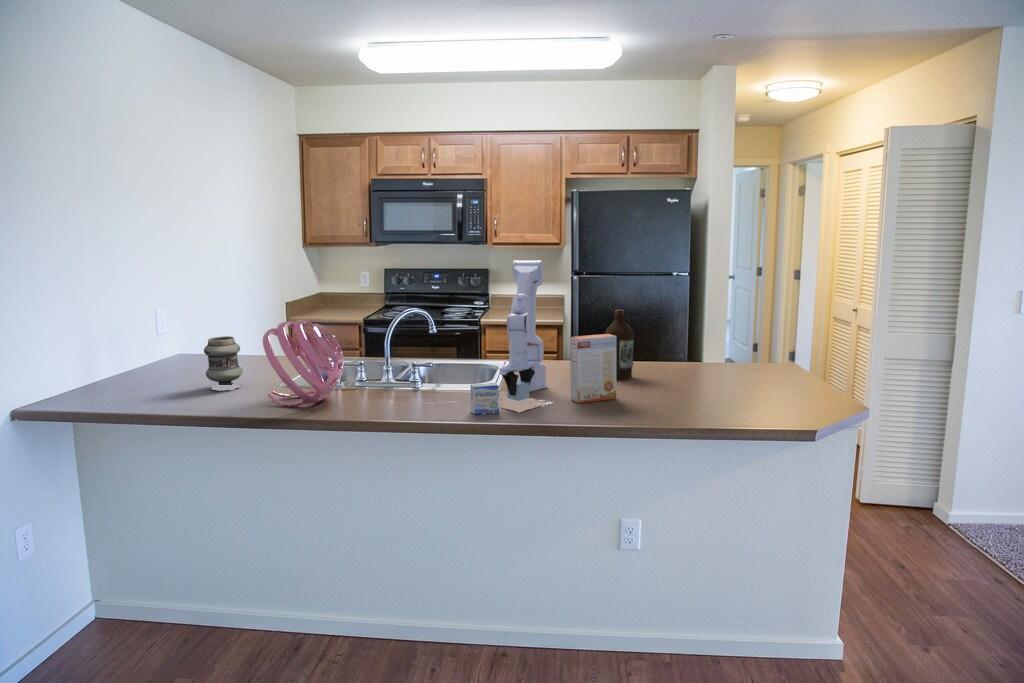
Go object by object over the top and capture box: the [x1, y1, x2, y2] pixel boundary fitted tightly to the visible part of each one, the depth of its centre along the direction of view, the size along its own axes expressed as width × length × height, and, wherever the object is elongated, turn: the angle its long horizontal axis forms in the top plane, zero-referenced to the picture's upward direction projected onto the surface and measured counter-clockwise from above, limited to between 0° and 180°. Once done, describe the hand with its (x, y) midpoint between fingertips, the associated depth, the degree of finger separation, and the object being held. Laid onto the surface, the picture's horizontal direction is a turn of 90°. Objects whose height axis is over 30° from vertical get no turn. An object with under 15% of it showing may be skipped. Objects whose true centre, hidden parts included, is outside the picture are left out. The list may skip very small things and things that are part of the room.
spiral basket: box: [262, 319, 344, 407], centre depth 229 cm, size 28×28×27 cm
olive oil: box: [604, 309, 635, 381], centre depth 260 cm, size 11×11×25 cm
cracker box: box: [569, 333, 617, 404], centre depth 229 cm, size 14×6×21 cm, turn 111°
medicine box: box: [469, 382, 500, 415], centre depth 216 cm, size 8×4×9 cm, turn 106°
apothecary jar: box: [203, 335, 244, 385], centre depth 250 cm, size 12×12×18 cm
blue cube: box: [506, 380, 530, 401], centre depth 226 cm, size 5×5×5 cm
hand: (518, 393), depth 226 cm, fingers closed on blue cube, 5 cm apart
